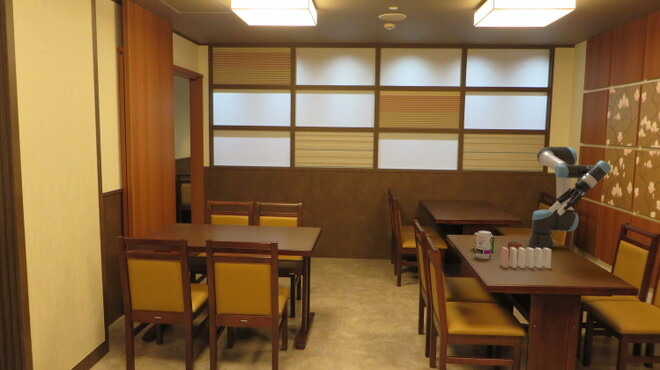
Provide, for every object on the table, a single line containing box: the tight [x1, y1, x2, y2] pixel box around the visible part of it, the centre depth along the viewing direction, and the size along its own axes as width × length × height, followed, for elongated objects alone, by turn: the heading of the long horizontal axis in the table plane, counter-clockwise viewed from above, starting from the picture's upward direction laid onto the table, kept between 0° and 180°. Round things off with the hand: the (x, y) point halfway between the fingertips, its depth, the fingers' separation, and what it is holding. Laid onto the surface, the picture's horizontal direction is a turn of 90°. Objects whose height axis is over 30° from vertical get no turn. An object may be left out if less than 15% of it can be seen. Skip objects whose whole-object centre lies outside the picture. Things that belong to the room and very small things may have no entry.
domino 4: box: [525, 247, 535, 269], centre depth 260 cm, size 2×5×10 cm, turn 2°
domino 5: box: [533, 248, 543, 269], centre depth 260 cm, size 2×5×10 cm, turn 2°
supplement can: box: [475, 230, 493, 260], centre depth 277 cm, size 8×8×15 cm
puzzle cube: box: [472, 232, 495, 254], centre depth 294 cm, size 10×10×10 cm
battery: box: [507, 240, 523, 260], centre depth 278 cm, size 4×7×10 cm, turn 89°
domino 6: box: [542, 248, 553, 269], centre depth 260 cm, size 2×5×10 cm, turn 2°
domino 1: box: [500, 246, 509, 269], centre depth 259 cm, size 2×5×10 cm, turn 2°
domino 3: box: [517, 246, 527, 269], centre depth 260 cm, size 2×5×10 cm, turn 2°
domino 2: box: [508, 247, 518, 269], centre depth 260 cm, size 2×5×10 cm, turn 2°
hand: (554, 212), depth 266 cm, fingers open, 8 cm apart
